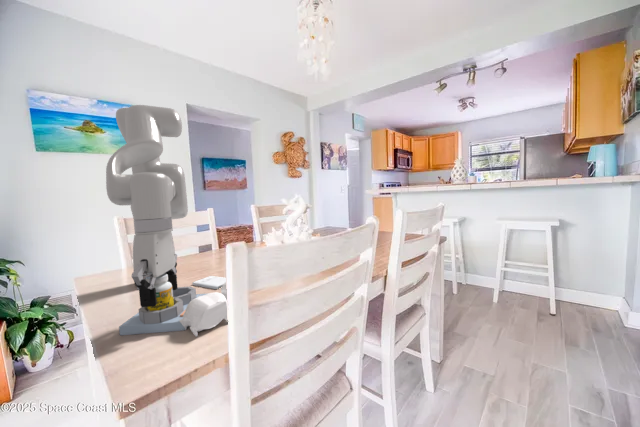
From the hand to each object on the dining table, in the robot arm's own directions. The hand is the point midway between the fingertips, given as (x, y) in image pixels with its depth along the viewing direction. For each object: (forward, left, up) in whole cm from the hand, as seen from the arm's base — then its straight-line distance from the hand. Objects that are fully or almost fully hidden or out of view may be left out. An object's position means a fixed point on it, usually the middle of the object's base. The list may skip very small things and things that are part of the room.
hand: (160, 297), depth 63 cm
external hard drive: (-28, +3, -7) cm, 29 cm away
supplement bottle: (0, 0, -4) cm, 5 cm away
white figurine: (+1, +13, -7) cm, 15 cm away
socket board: (-4, 0, -6) cm, 7 cm away
